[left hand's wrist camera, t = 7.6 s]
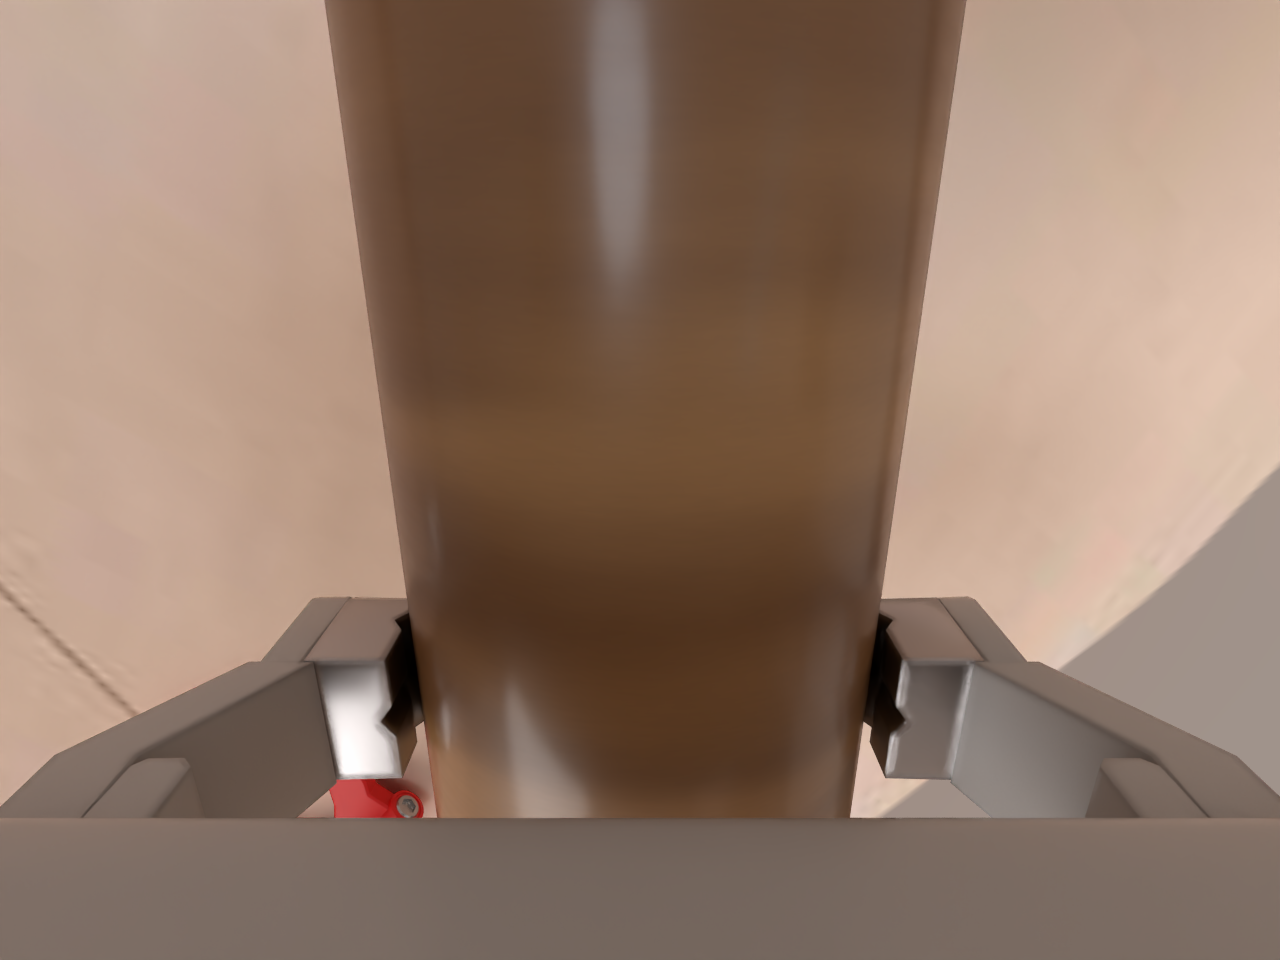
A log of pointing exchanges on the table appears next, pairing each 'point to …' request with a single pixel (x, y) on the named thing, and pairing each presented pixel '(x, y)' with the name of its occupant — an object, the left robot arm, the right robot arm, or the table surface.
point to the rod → (644, 379)
